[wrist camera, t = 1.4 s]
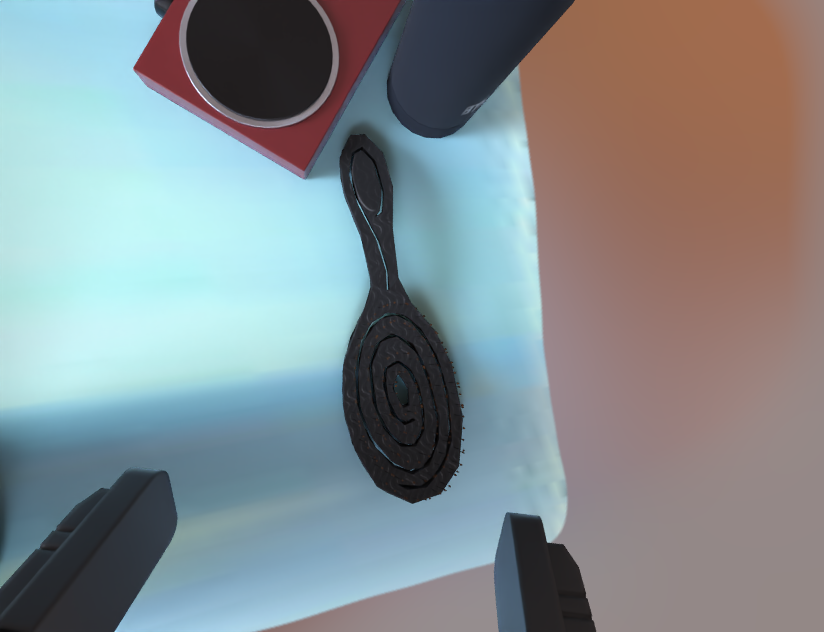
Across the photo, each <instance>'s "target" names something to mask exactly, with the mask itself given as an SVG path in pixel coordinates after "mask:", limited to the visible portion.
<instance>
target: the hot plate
mask: <svg viewBox="0 0 824 632" xmlns="http://www.w3.org/2000/svg"><path fill="white" fill-rule="evenodd" d="M405 2H406V0H155V2H154V5H155V10H156V13H157V14H158V15H159V16H160V17H162V18H163V19H162V20H161V22H160V24H159V25H158V27H157V29H156V31H155V32H154V34H153V36H152V37H151V39H150V41H149V42H148V44H147V46H146V47H145V49H144V51H143V52H142V54H141V56H140V57H139V59H138V61H137V62H136V64H135V66H134V67H133V70H134V71H135V72H136V73H137V75H138V76H139V77H140V78H141V79H142V81H143V82H144V83H145V84H146V86H147V87H149V88H151V89H152V90H154V91H156V92H157V93H159V94H161V95H163V96H164V97H166V98H168V99H169V100H171V101H173V102H174V103H176V104H178V105H179V106H181V107H183V108H184V109H186V110H188V111H189V112H191V113H193V114H195V115H196V116H198V117H200V118H201V119H203V120H205V121H206V122H208V123H210V124H211V125H213V126H215V127H216V128H218V129H220V130H222V131H223V132H225V133H227V134H228V135H230V136H232V137H233V138H235V139H237V140H238V141H240V142H242V143H243V144H245V145H247V146H248V147H250V148H252V149H254V150H255V151H257V152H259V153H260V154H262V155H264V156H265V157H267V158H269V159H270V160H272V161H274V162H275V163H277V164H279V165H281V166H282V167H284V168H286V169H287V170H289V171H291V172H292V173H294V174H296V175H297V176H299V177H301V178H302V179H304V180H305V179H306V178H307V176H308V174H309V172H310V171H311V169H312V167H313V165H314V164H315V162H316V160H317V158H318V156H319V155H320V153H321V151H322V149H323V148H324V146H325V144H326V142H327V141H328V139H329V137H330V135H331V133H332V132H333V130H334V128H335V126H336V125H337V123H338V121H339V119H340V117H341V116H342V114H343V112H344V110H345V109H346V107H347V105H348V103H349V101H350V100H351V98H352V96H353V94H354V93H355V91H356V89H357V87H358V86H359V84H360V82H361V80H362V78H363V77H364V75H365V73H366V71H367V70H368V68H369V66H370V64H371V62H372V61H373V59H374V57H375V55H376V54H377V52H378V50H379V48H380V46H381V45H382V43H383V41H384V39H385V38H386V36H387V34H388V32H389V30H390V29H391V27H392V25H393V23H394V22H395V20H396V18H397V16H398V15H399V13H400V11H401V9H402V7H403V6H404V4H405Z"/></svg>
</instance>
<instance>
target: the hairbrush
mask: <svg viewBox="0 0 824 632" xmlns="http://www.w3.org/2000/svg"><path fill="white" fill-rule="evenodd" d="M360 150H361V151H360ZM352 156H354V157H353V164H352V167H351V174H352V184H351V181H350V178H349V170H350V163H351V158H352ZM374 165H375V167H374ZM375 168H376V170H375ZM376 171H377V173H376ZM377 174H378V177H379V180H378V177H377ZM340 175H341V182H342V187H343V193H344V196H345V199H346V202H347V204H348V207H349V209H350V212H351V214H352V217H353V220H354V222H355V224H356V227H357V229H358V232H359V234H360V237H361V240H362V244H363V249H364V253H365V258H366V262H367V267H368V271H369V275H370V291H369V294H368V298H367V301H366V305H365V308H364V310H363V313H362V314H361V316H360V318H359V320H358V322H357V325H356V327H355V329H354V331H353V333H352V335H351V338H350V341H349V344H348V349H347V353H346V355H345V359H344V364H343V382H342V394H343V408H344V415H345V420H346V423H347V426H348V430H349V433H350V436H351V441H352V444H353V446H354V449H355V451H356V453H357V455H358V457H359V459H360V460H361V462H362V464H363V466H364V467H365V469H366V470H367V472H368V473H369V475H370V477H371V478H372V480H373V481H374V483H375V484H376V486H377V487H379V488H380V489H382V490H383V491H385V492H387V493H389V494H391V495H394V496H396V497H398V498H401V499H403V500H405V501H407V502H410V503H412V504H414V503H416V502H419V501H422V500H426V499H427V498H429V499H431V498H430V497H433V496H436V495H439V494H441V493H442V491H443V490H444V491H447V490H446V489H444V488H445V487H446V485H447V484H448V482H449V481H450V479H451V478H452V476H453V475H454V476H457V475H456V474H454V473H455V472H458V471H456V470H457V468H458V467H459V461H460V452H461V451H460V450H461V449H460V448H461V435H462V422H463V417H464V416H462V412H461V406H462V408H464V407H463V404H461V406H460V402H459V397H458V392H457V387H459V388H460V386H456V383H455V378H454V374H455V373H456V372H453V368H454V367H452V364H451V363H453V362H450V360H449V358H448V356H447V354H446V353H448V352H445V350H446V348H445V349H444V348H443V346H442V344H443V342H440V340H439V338H438V336H437V334H438V333H437V332H436V331H435V330H434V329H433V328H432V326H431V325H432V324H429V323H428V322H427V321H426V319H425V318H424V317H425V315H423V316H422V315H421V314H420V312H419V311H418V310H417V308H415V307H414V305H413V304H412V303H411V301H410V299H409V297H408V295H407V294H406V292H405V290H404V288H403V286H402V284H401V282H400V280H399V278H398V270H397V261H396V252H395V244H394V235H393V185H392V182H391V178H390V175H389V172H388V168H387V165H386V161H385V158H384V155H383V152H382V151H381V150H380V149H379V148H378V147H377V146H376V145H375V144H374V143H373V142H372V141H371V140H370V139H369V138H368V137H367V136H366V135H365V134H360V135H351V136H350V137H349V139H348V141H347V143H346V145H345V147H344V149H343V150H342V154H341V156H340ZM379 181H380V183H379ZM352 185H353V188H354V191H353V188H352ZM380 185H381V186H380ZM381 188H382V192H383V202H382V212H381V213H380V214H379V215H377V214H378V213H379V211H380V206H381ZM354 192H355V194H354ZM356 199H357V200H358V202H359V204H360V206H361V208H362V210H363V212H364V214H365V216H366V218H367V220H368V222H369V224H370V226H371V228H372V230H373V232H374V234H375V236H376V238H377V240H378V242H379V245H380V248H381V251H382V255H383V258H384V262H385V265H386V269H387V274H388V290H387V284H386V270H385V266H384V263H383V260H382V257H381V254H380V251H379V248H378V244H377V241H376V238H375V236H374V234H373V233H372V231H371V229H370V227H369V225H368V223H367V221H366V219H365V217H364V215H363V214H362V212H361V210H360V208H359V206H358V204H357V201H356ZM385 313H395V314H398V315H402V316H405V317H406V318H408V319H409V320H410V321H412V322H413V323H414V324H415V326H416V327H417V328H418V329H419V330H420V331H421V332H422V333H423V334H424V336H425V338H426V339H427V341H428V343H429V344H428V343H427V342H426V341H425V340H426V339H424V338H423V336H422V335H421V334H420V333H419V332H418V330H417V329H416V328H415V326H414V325H413V324H412V323H410V322H408V321H407V320H405V319H403V318H401V317H399V316H397V315H396V316H395V315H390V316H385V317H383V318H382V319H380V320H379V321H378V322H377V323H376V324H374V325H373V326H372V327H371V328H370V330H369V331H368V333H367V336H366V338H365V341H364V344H363V346H362V349H361V353H360V357H359V370H358V393H359V399H360V405H361V410H362V414H363V418H364V420H365V422H366V425H367V427H368V429H369V431H370V433H371V436H372V438H373V440H374V441H375V442H376V444H377V445H378V446H379V447H380V448H381V450H382V451H383V452H384V453H385V454H386V455H387V457H388V458H389V459H390V460H391V461H392V462H393V463H395V464H397V465H399V466H401V467H403V468H401V467H398V466H395V465H394V464H393V463H392V462H391V461H390V460H388V459H387V458H386V457H385V456H384V455H383V454H382V453H381V452H380V451H379V450H378V449H377V448H376V447H375V445H374V443H373V441H372V440H371V438H370V436H369V434H368V432H367V430H366V429H365V427H364V424H363V421H362V418H361V415H360V410H359V405H358V399H357V393H356V377H355V370H356V363H357V358H358V354H359V349H360V344H361V340H362V339H363V337H364V335H365V333H366V332H367V330H368V328H369V327H370V325H371V323H372V322H374V321H375V320H377V319H378V318H380V317H381V316H382V315H384V314H385ZM388 335H397V336H399V337H401V338H403V339H405V340H406V341H407V342H408V343H409V344H410V345H411V347H412V348H413V349H414V350H415V351H416V352H415V351H414V350H413V349H412V348H411V347H410V346H408V345H407V344H406V343H405V342H403V341H402V340H401V339H399V338H398V337H396V336H394V337H389V338H385V337H387V336H388ZM384 338H385V339H384ZM382 339H383V340H382ZM381 340H382V341H381ZM379 341H380V343H379V345H378V347H377V349H376V351H375V353H374V356H373V360H372V364H371V370H372V382H373V389H374V395H375V400H376V405H377V408H378V411H379V413H380V415H381V417H382V420H383V422H384V424H385V426H386V428H387V429H388V431H389V432H390V433H391V434H392V435H394V436H395V437H396V438H397V439H398V440H399V441H400V442H401V443H399V442H397V441H396V440H395V439H394V438H393V437H392V436H391V435H390V433H389V432H388V431H387V430H386V429H385V427H384V426H383V425H382V423H381V421H380V419H379V417H378V414H377V412H376V409H375V405H374V401H373V397H372V392H371V382H370V361H371V358H372V355H373V352H374V349H375V346H376V344H377V343H378V342H379ZM429 345H430V347H431V349H432V351H433V353H434V354H432V352H431V350H430V347H429ZM417 354H418V355H419V356H420V357H421V359H422V361H423V363H424V365H423V366H422V365H421V363H420V360H419V358H418V355H417ZM434 358H436V360H437V362H438V364H437V363H436V361H435V359H434ZM394 362H398V363H394ZM392 363H393V364H392ZM399 363H402V364H403V365H405V366H406V367H407V368H408V369H409V370H410V371H411V373H412V374H413V376H414V378H415V381H416V382H415V383H414V381H413V379H412V378H411V376H410V373H409V372H408V370H407V369H406V368H405V367H403V366H402V365H401V364H399ZM438 366H440V368H441V372H442V375H441V372H440V370H439V368H438ZM386 367H387V368H386ZM422 367H423V368H422ZM385 368H386V372H385V388H386V394H387V396H388V399H389V402H390V405H391V406H392V409H393V411H394V412H395V414H396V415H397V417H398V418H399V419H401V420H403V421H401V422H400V421H399V420H398V419H397V418H396V417H395V415H394V414H393V412H392V411H391V410H390V408H389V405H388V401H387V398H386V394H385V391H384V387H383V382H384V380H383V378H384V371H385ZM423 369H425V371H426V374H427V378H428V380H427V378H426V375H425V373H424V370H423ZM397 375H399V376H400V377H401V378H402V380H403V381H404V383H405V385H406V387H407V390H408V403H407V404H404V405H402V404H401V403H400V401H399V399H398V397H397V395H396V394H398V393H395V392H394V386H393V385H394V382H395V380H396V377H397ZM442 377H443V381H444V385H443V381H442ZM428 382H429V383H428ZM395 383H397V381H396V382H395ZM415 384H417V386H416V385H415ZM457 384H459V383H458V382H457ZM429 385H430V387H429ZM395 387H397V385H395ZM416 387H417V388H418V390H419V394H418V392H417V388H416ZM444 387H445V390H446V396H445V391H444ZM430 389H431V392H432V396H433V400H434V403H435V407H436V410H434V406H433V405H434V404H433V401H432V396H431V392H430ZM418 395H420V396H421V400H422V404H420V400H419V396H418ZM459 395H461V393H459ZM446 398H447V401H446ZM447 403H448V409H447ZM421 408H422V410H423V416H422V414H421ZM435 411H436V412H437V419H436V415H435ZM448 414H449V422H448ZM422 417H423V425H422ZM408 420H410V421H408ZM449 426H450V430H449ZM463 429H465V428H464V427H463ZM420 431H421V432H420ZM419 433H420V436H419V438H418V439H417V437H418V435H419ZM448 434H449V436H448ZM416 439H417V440H416ZM462 440H463V441H464V439H462ZM434 441H435V442H434ZM408 444H411V445H408ZM433 448H434V450H433ZM463 451H465V450H463ZM463 451H462V453H464V452H463ZM460 465H461V466H462V464H460ZM404 468H405V469H404ZM412 469H414V470H412ZM410 470H412V471H410ZM448 486H449V487H451V485H448Z"/></svg>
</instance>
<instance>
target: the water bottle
mask: <svg viewBox="0 0 824 632" xmlns="http://www.w3.org/2000/svg"><path fill="white" fill-rule="evenodd" d="M574 1H575V0H414V1H413V4H412V7H411V10H410V13H409V16H408V18H407V21H406V24H405V27H404V30H403V33H402V36H401V39H400V42H399V45H398V48H397V51H396V54H395V57H394V60H393V63H392V66H391V69H390V73H389V77H388V80H387V95H388V100H389V103H390V106H391V109H392V111H393V113H394V114H395V116H396V117H397V118H398V120H399V121H400V123H401V124H402V125H403V126H405V127H406V128H407V129H409V130H410V131H411V132H413V133H415V134H418V135H420V136H423V137H426V138H442V137H445V136H448V135H451V134H453V133H455V132H456V131H457V130H459V129H460V128H461V127H462V126H464V125H465V123H466V122H467V121H468V120H469V119H470V118H471V117H472V116H473V114H474V113H475V112H476V111H477V110H478V109H479V108H480V107H481V105H482V104H483V103H484V102H485V101H486V100H487V99H488V98H489V97H490V95H491V94H492V93H493V92H494V91H495V90H496V89H497V88H498V86H499V85H500V84H501V83H502V82H503V81H504V80H505V79H506V77H507V76H508V75H509V74H510V73H511V72H512V71H513V70H514V69H515V67H516V66H517V65H518V64H519V63H520V62H521V60H522V59H523V58H524V57H525V56H526V55H527V54H528V53H529V52H530V51H531V50H532V48H533V47H534V46H535V45H536V44H537V43H538V42H539V40H540V39H541V38H542V37H543V36H544V35H545V34H546V33H547V32H548V30H549V29H550V28H551V27H552V26H553V25H554V24H555V23H556V22H557V20H558V19H559V18H560V17H561V16H562V15H563V13H564V12H565V11H566V10H567V9H568V8H569V7H570V6H571V5H572V4H573V2H574Z"/></svg>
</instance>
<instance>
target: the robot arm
mask: <svg viewBox="0 0 824 632" xmlns="http://www.w3.org/2000/svg"><path fill="white" fill-rule="evenodd" d="M176 525H177V511H176V506H175V502H174V497H173V493H172V488H171V483H170V479H169V475H168V473H167V472H166V471H163V470H154V469H146V468H137V467H132V468H129V469H128V470H126V471H125V472H124V473H123V474H122V475H121V477H120V478H119V479H118V480H117V481H116V482H115V483H114V485H113V486H112V487H111V488H110V489H105V488H101V489H100V490H98V491H97V492H95V493H94V494H92V495H91V496H89V497H88V498H86V499H85V500H83V501H82V502H80V503H79V504H77V505H76V506H75V507H74V508H73V509H72V510H71V512H70V513H69V514H68V515H67V516H66V517H65V518H64V519H63V520H62V521H61V523H60V524H59V525H58V526H57V529H56V530H55V531H52V532H51V533H50V535H49V536H48V537H47V538H46V539H45V540H44V541H43V542H42V543H41V544H40V545H41V546H40V548H39V549H36V550H35V551H34V552H33V553H32V554H31V555H30V556H29V557H28V559H27V560H26V561H25V562H24V563H23V564H22V565H21V566H20V567H19V568H18V569H17V571H16V572H15V573H14V574H13V575H12V576H11V577H10V578H9V579H8V580H7V581H6V583H5V584H4V585H3V586H2V587H1V588H0V632H114V631H115V630H116V628H117V627H118V625H119V623H120V622H121V620H122V619H123V617H124V615H125V614H126V612H127V611H128V609H129V607H130V606H131V604H132V603H133V601H134V599H135V598H136V596H137V595H138V593H139V592H140V590H141V588H142V587H143V585H144V584H145V582H146V580H147V579H148V577H149V576H150V574H151V572H152V571H153V569H154V568H155V566H156V564H157V563H158V561H159V560H160V558H161V557H162V555H163V553H164V552H165V550H166V549H167V547H168V545H169V544H170V542H171V540H172V538H173V535H174V533H175V530H176ZM494 581H495V582H494V583H495V595H496V606H497V617H498V628H499V632H596V629H595V625H594V621H593V620H592V614H591V610H590V606H589V603H588V599H587V598H586V592H585V588H584V585H583V581H582V577H581V573H580V570H579V567H578V565H577V564H576V562H575V561H574V560H573V558H572V557H571V555H570V554H569V552H568V551H567V549H566V548H565V546H564V545H563V544H554V543H547V541H546V536H545V532H544V527H543V523H542V520H541V518H540V516H535V515H527V514H518V513H510V512H507V513H506V515H505V518H504V522H503V526H502V531H501V535H500V539H499V543H498V547H497V552H496V557H495V567H494Z"/></svg>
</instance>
